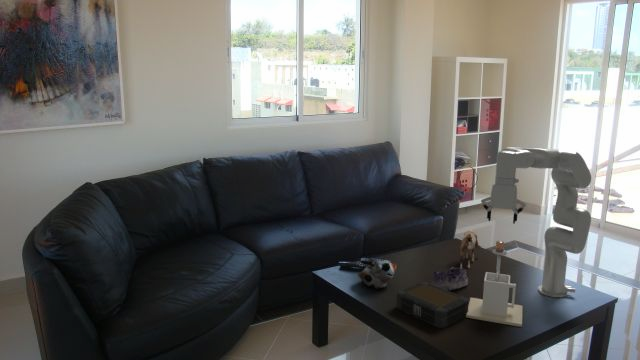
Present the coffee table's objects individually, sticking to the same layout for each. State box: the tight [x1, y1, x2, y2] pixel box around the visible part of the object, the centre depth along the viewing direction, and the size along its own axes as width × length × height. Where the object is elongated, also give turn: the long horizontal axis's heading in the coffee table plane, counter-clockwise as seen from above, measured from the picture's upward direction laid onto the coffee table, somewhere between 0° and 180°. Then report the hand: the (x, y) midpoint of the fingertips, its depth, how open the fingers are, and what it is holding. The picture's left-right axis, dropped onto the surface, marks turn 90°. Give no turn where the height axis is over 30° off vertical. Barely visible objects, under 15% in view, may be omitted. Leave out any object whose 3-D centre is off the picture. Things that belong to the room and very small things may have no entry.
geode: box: [431, 266, 469, 292], centre depth 244 cm, size 20×12×10 cm, turn 124°
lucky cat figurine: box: [357, 259, 397, 290], centre depth 246 cm, size 17×14×16 cm
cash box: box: [395, 281, 470, 329], centre depth 219 cm, size 25×20×8 cm
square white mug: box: [465, 271, 523, 328], centre depth 217 cm, size 22×18×16 cm
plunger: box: [492, 240, 508, 282], centre depth 214 cm, size 8×8×21 cm
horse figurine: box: [459, 230, 482, 270], centre depth 272 cm, size 31×8×21 cm, turn 152°
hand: (501, 221), depth 210 cm, fingers open, 9 cm apart
